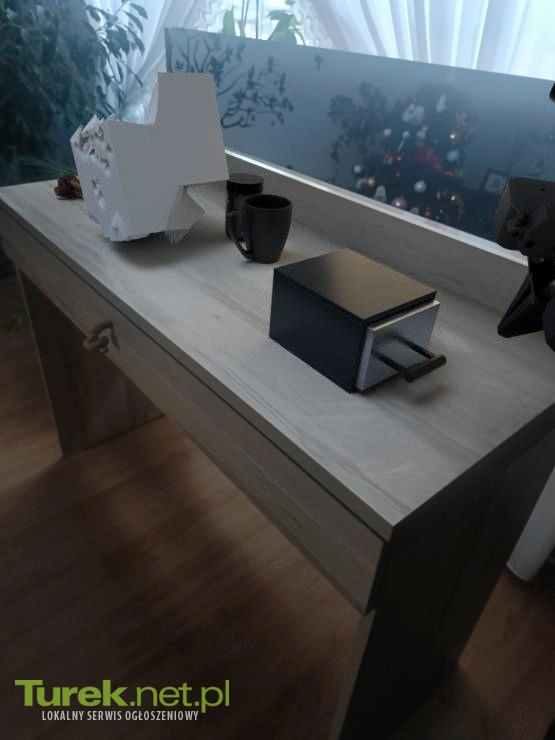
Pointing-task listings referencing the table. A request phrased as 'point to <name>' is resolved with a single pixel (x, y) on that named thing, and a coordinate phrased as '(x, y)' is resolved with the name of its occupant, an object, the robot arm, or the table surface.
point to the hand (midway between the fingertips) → (501, 333)
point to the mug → (262, 226)
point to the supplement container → (240, 197)
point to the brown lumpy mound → (68, 186)
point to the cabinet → (336, 309)
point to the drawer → (399, 346)
